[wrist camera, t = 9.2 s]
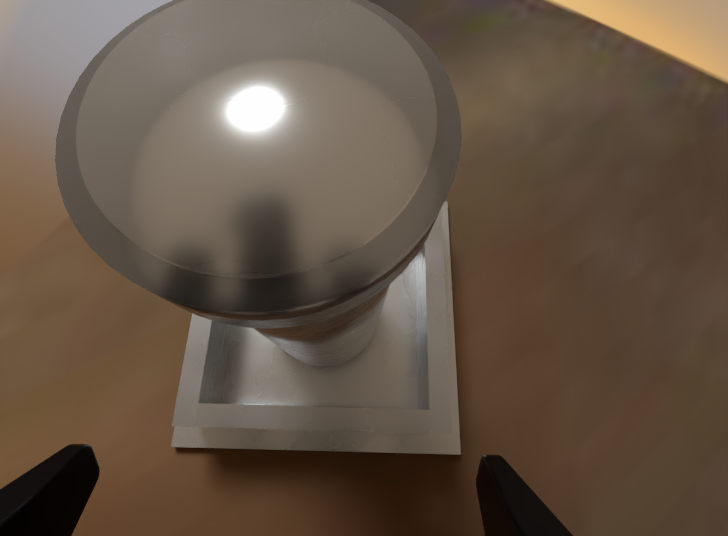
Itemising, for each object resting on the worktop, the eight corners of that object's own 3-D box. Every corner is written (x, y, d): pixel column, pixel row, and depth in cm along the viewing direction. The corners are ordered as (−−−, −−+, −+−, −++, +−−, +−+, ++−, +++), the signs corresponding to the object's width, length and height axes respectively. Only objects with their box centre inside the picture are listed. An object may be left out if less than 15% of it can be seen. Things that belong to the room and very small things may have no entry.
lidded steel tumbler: (410, 298, 18) (537, 79, 6) (336, 403, 16) (285, 413, 4) (315, 231, 19) (246, -78, 7) (236, 323, 17) (-49, 138, 5)
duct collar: (458, 453, 16) (479, 463, 13) (174, 446, 16) (138, 455, 13) (446, 204, 20) (460, 174, 17) (219, 195, 20) (198, 163, 17)
